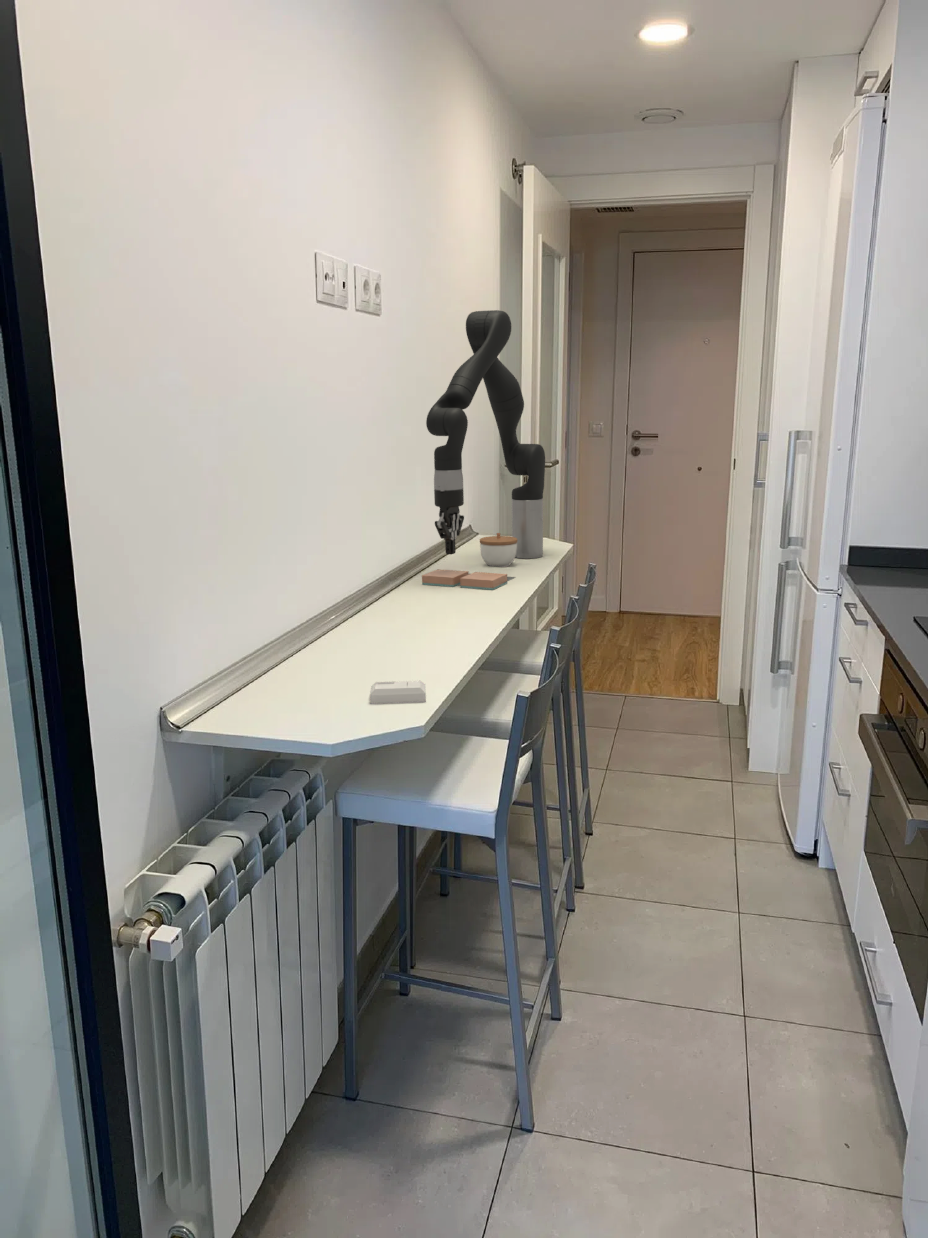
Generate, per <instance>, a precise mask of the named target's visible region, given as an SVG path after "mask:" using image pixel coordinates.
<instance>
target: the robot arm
mask: <svg viewBox="0 0 928 1238" xmlns="http://www.w3.org/2000/svg"><path fill="white" fill-rule="evenodd" d="M465 332H466V338H467V341H468V343H469V346H470V348H471V351H472V353H473V355H471V356H470V357H469V358H467V360H466V361H464V362H463V363H462V364H461V365H460V366H459V367H458V368H457V370H456V371H455V372H454V374H453V375H452V378H451V379H450V381H449V384H448V386H447V388H446V390H445V392H444V393H443V394H442V395H441V396H440V397H439V398H438V400H437V401H435V403H434V404H433V405H432V407H431V408H430V409H429V411H428V413H427V415H426V420H425V425H426V430H427V431H428V433H429V434H431V435H432V436H436V437H448V438H447V441H446V443H445V444H444V445H440V446H437V447H435V449H434V450H433V452H434V453H433V457H434V458H433V460H434V462H433V463H434V473H433V474H434V475H433V492H434V506H435V507H437V508H439V511H438V512H439V513H438V520H435V521H434V526H435V528H436V531H437V533H438V535H439V537H440V539H443V541H444V542H445V544H444V545H445V546H444V547H445V554H446V555H454V554H456V540H457V538H458V537H459V536H460V533H461V531H462V527H463V523H464V520H465V515H463V514H462V515H461V514H460V513H461V512H460V511H461V510H460V507H462V506H463V505H464V504H465V502H464V500H465V499H464V494H465V493H464V475H463V460H462V454H463V449H464V444H465V439H466V435H467V431H468V425H469V424H468V423H469V422H468V421H469V420H468V417H467V413H465V411H464V410H466V409H467V408H468V407H470V405H471V403H472V401H473V399H474V397H475V395H476V392H477V390H478V388H479V387H480V384H481V382H482V381H483V383H484V386H485V389H486V393H487V397H488V400H489V404H490V407H491V409H492V413H493V417H494V419H495V422H496V427H497V429H498V432H499V438H500V442H501V447H502V452H503V457H504V463H505V465H506V468H507V469H506V470H507V471H508V472H509V473H510V474H511V475H513V476H527V480H526V483H524V484H523V485H521V486H518V487H515V488H513V489H512V491H511V537H515V538H517V552H516V556H515V558H518V559H537V558H541V557H543V556H544V520H543V519H544V491H545V490H544V489H545V475H546V474H545V473H546V452H545V449H544V447H543V446H542V444H539V443H520V442H519V440H518V437H517V436H518V435H517V427H518V424H519V423H520V419H521V417H522V415H523V412H524V408H525V401H524V397H523V393H522V389H521V385H520V383H519V381H518V379H517V378H516V377H515V376H514V374H513V373H512V372H511V371H510V370H509V369H508V368H507V367H506V366H505V364H504V363H502V362H501V360H500V359H499V355H500V354H501V352H502V351H503V349H504V347H505V346H506V345H507V343H508V342H509V340H510V336H511V334H512V321H511V318H510V316H509V314H508V313H507V312H506V311H503V310H498V309H497V310H478V311H477V310H475V311H472V312H470V313H469V314H468V315H467V317H466V320H465Z"/></svg>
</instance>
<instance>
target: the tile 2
mask: <svg viewBox="0 0 928 1238" xmlns="http://www.w3.org/2000/svg"><path fill="white" fill-rule="evenodd" d="M507 577H508V574H507V573H498V572H497V573H494V572H482V571H481V572H480V571H474V572H472V573H469V575H467V576H464V577H462V578H460V586H459V587H460V588H461V589H472V590H473V589H475V590H487V591H494V590H496V589H498V588H500V587H502V586H504V585H506V584H508V581H507Z"/></svg>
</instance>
